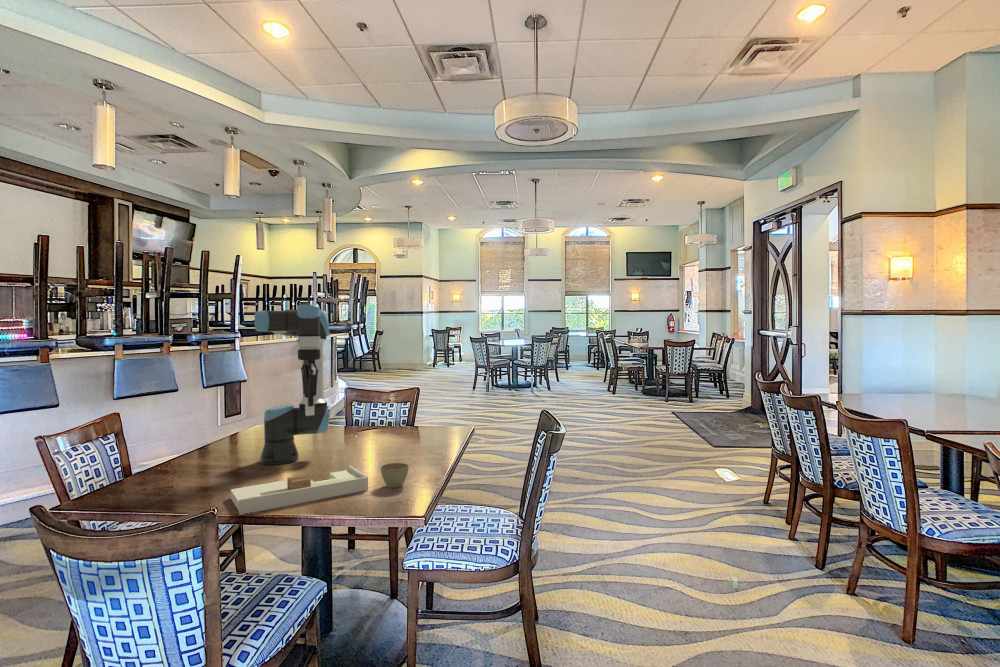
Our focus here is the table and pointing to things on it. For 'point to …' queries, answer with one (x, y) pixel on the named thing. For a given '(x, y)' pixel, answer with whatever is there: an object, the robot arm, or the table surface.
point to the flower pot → (394, 474)
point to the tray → (297, 491)
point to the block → (298, 482)
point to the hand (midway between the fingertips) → (309, 415)
